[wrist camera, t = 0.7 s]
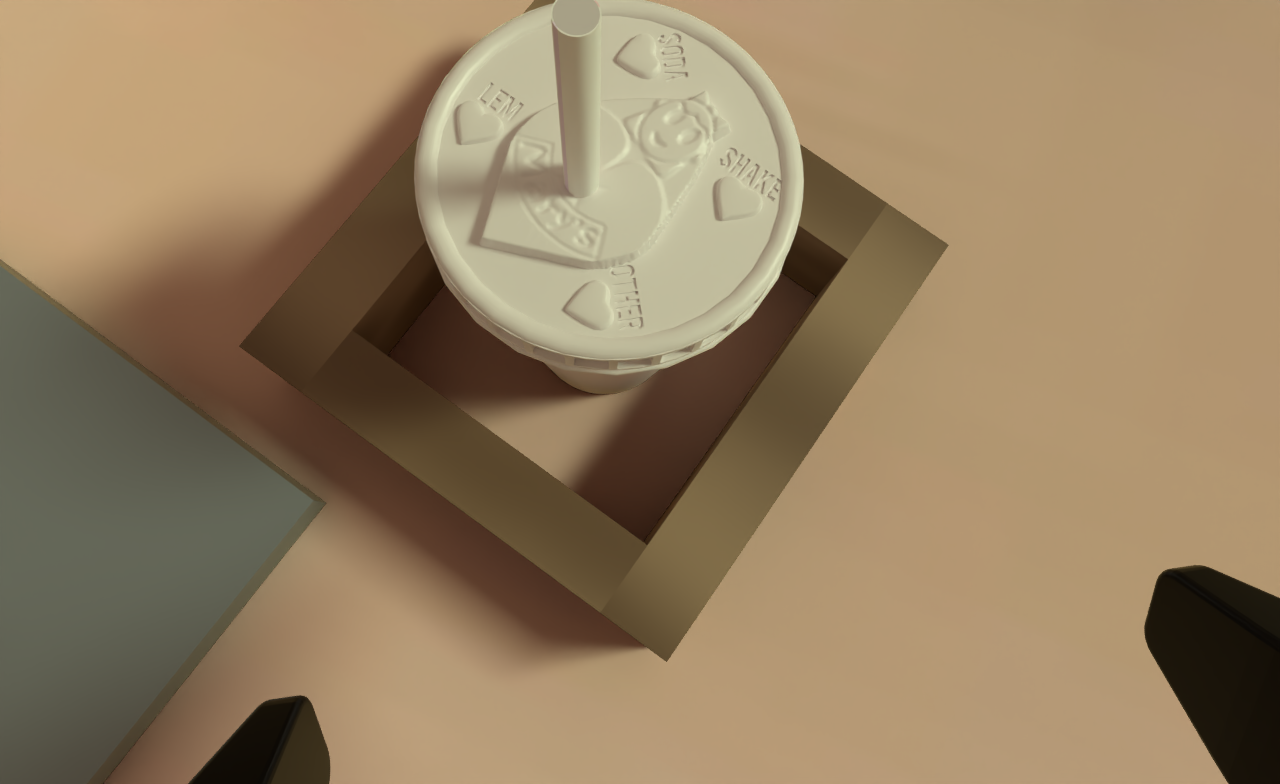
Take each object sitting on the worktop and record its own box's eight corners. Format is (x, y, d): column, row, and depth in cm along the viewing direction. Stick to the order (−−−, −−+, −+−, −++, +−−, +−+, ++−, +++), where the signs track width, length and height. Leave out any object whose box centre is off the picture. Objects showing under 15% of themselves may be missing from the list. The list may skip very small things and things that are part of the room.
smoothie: (441, 289, 23) (216, -107, 9) (641, 176, 24) (706, -334, 10) (564, 490, 22) (515, 383, 8) (766, 365, 23) (1019, 87, 9)
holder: (656, 647, 22) (666, 662, 19) (285, 373, 22) (239, 346, 19) (904, 283, 24) (948, 245, 21) (558, 46, 25) (554, -23, 22)
